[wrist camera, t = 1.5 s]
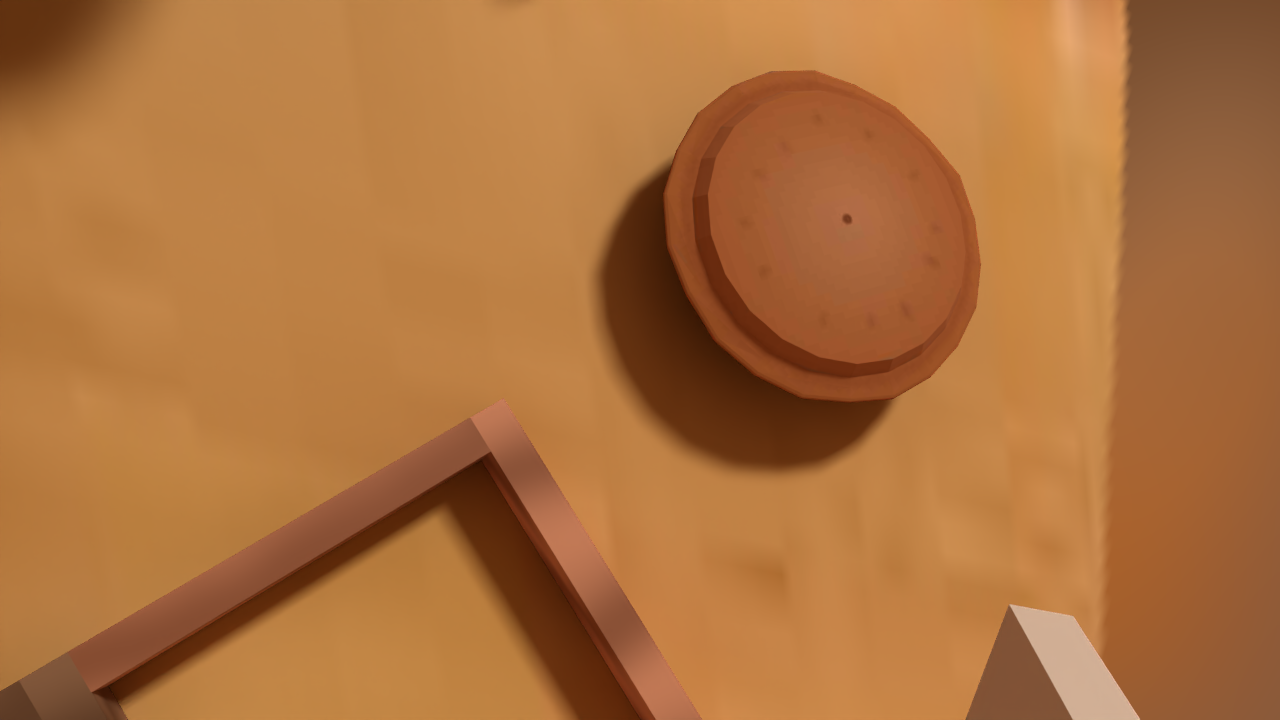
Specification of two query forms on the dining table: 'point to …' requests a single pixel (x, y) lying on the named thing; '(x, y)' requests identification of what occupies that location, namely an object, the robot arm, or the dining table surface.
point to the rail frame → (78, 680)
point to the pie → (822, 237)
